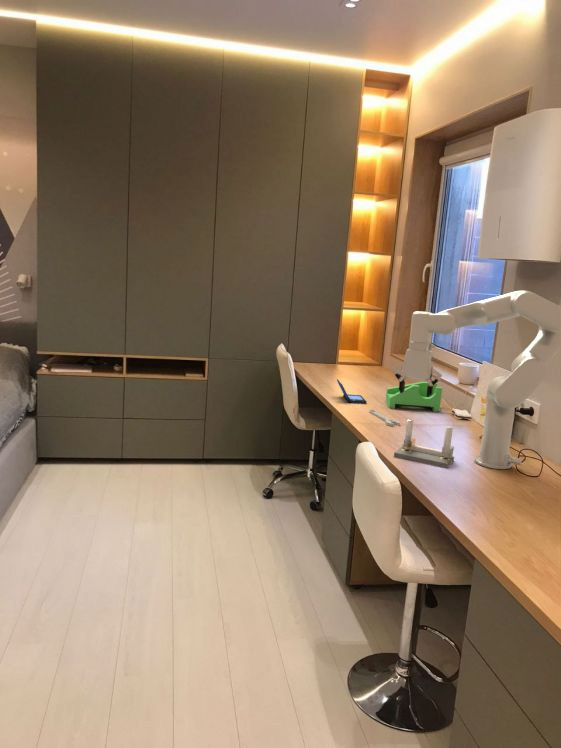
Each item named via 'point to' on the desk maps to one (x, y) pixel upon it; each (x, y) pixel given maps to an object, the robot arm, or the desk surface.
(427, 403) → the ramp block with notch
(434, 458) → the board
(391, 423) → the adjustable wrench
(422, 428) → the desk surface
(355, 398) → the handheld game console
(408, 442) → the post
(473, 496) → the desk surface
